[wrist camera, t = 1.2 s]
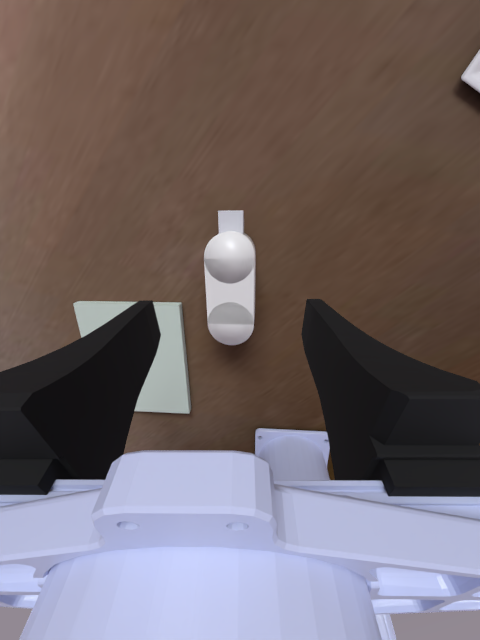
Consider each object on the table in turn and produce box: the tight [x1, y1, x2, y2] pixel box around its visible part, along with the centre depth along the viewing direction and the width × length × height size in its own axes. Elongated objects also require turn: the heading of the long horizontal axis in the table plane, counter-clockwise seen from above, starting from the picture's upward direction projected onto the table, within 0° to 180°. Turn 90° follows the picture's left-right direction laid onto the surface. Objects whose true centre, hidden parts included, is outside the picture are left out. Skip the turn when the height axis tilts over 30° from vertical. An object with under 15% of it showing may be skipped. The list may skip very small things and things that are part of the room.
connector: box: [204, 210, 256, 345], centre depth 21 cm, size 10×4×4 cm, turn 0°
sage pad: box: [73, 301, 191, 414], centre depth 26 cm, size 12×10×1 cm
